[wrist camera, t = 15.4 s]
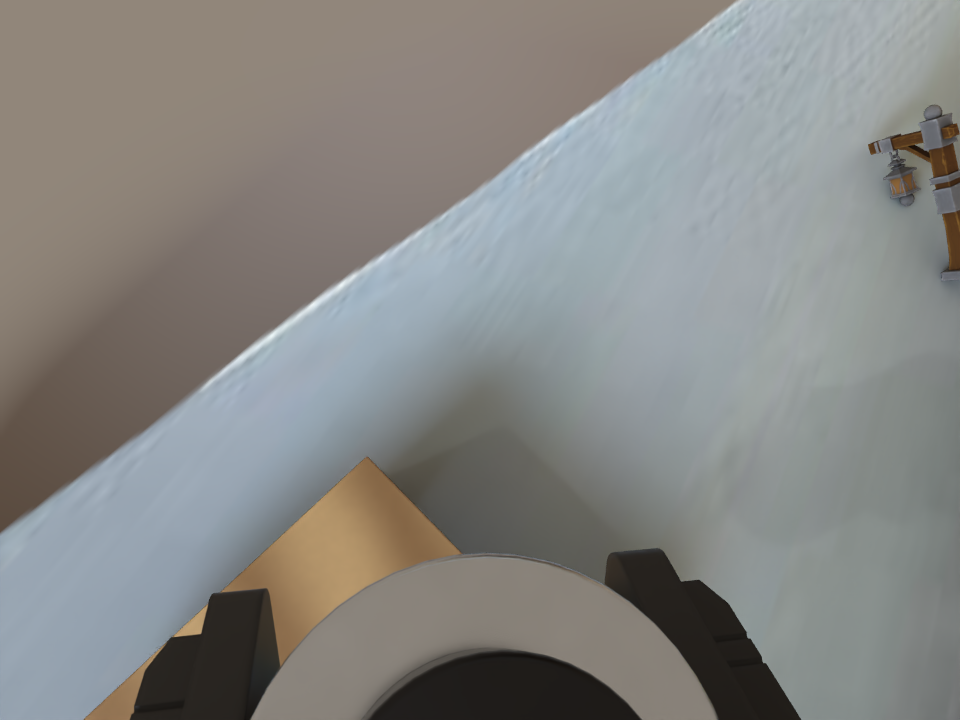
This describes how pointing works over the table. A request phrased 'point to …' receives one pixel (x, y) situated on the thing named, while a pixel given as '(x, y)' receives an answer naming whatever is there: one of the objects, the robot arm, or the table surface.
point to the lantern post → (954, 187)
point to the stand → (321, 564)
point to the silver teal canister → (485, 651)
